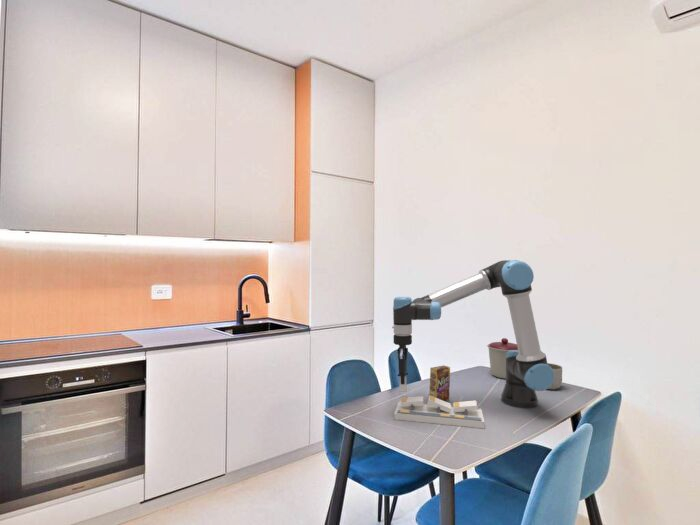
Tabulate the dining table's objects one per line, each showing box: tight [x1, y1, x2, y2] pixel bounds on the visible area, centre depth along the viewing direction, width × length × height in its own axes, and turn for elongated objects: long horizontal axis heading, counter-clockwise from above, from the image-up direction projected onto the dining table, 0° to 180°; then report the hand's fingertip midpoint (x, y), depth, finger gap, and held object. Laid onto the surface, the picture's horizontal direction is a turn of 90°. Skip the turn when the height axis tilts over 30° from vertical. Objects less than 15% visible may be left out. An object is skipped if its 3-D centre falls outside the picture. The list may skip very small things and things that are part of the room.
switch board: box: [393, 401, 485, 429], centre depth 166 cm, size 34×14×4 cm, turn 77°
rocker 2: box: [427, 395, 452, 413], centre depth 166 cm, size 9×7×2 cm
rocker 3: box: [453, 400, 479, 412], centre depth 164 cm, size 9×7×2 cm
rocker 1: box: [400, 395, 425, 407], centre depth 169 cm, size 9×7×2 cm
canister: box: [486, 337, 518, 380], centre depth 226 cm, size 18×18×21 cm
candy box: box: [428, 365, 451, 402], centre depth 185 cm, size 9×4×15 cm, turn 123°
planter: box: [547, 362, 563, 391], centre depth 207 cm, size 12×12×11 cm
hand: (403, 391), depth 170 cm, fingers closed
